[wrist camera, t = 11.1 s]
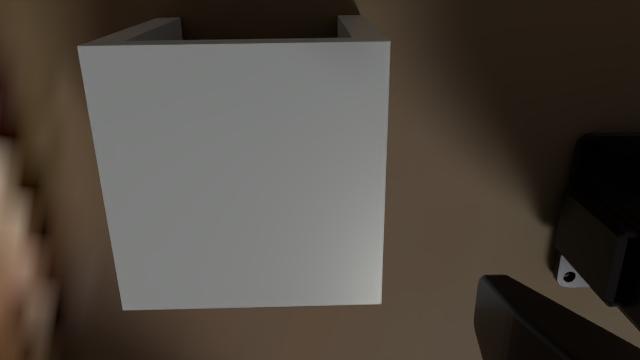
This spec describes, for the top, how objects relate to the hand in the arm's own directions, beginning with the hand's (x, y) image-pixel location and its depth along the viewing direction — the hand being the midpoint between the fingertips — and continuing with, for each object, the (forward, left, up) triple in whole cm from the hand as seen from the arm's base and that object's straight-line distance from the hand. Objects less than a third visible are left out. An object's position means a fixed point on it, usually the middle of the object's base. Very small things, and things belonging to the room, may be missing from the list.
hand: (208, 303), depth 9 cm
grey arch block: (0, 0, -12) cm, 12 cm away
